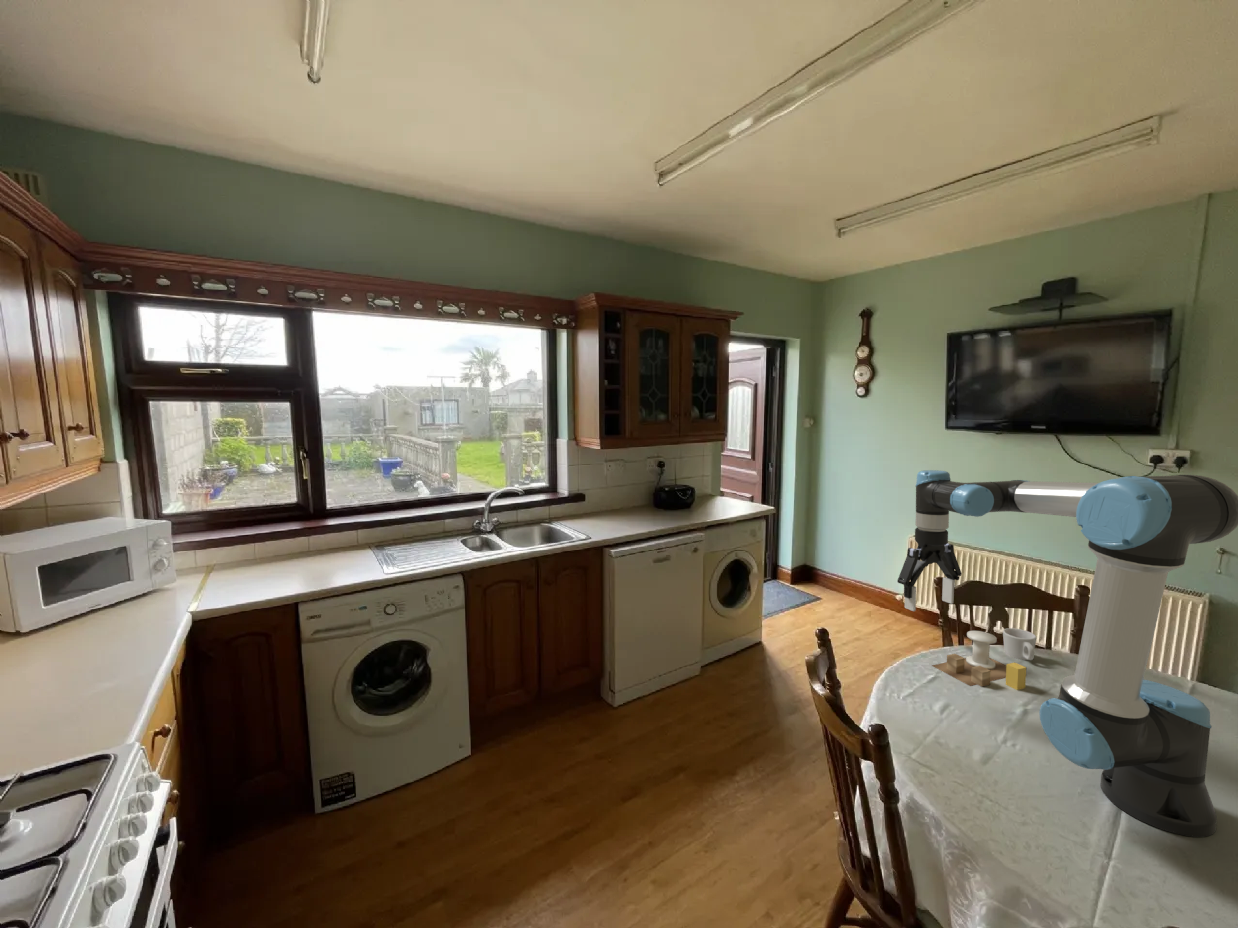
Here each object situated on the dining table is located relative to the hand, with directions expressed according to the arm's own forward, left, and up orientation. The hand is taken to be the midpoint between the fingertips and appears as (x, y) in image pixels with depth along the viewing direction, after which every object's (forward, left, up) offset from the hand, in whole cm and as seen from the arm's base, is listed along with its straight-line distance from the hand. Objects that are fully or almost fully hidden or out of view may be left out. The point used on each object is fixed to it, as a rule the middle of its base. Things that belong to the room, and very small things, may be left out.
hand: (929, 605), depth 136 cm
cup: (+2, -39, -24) cm, 46 cm away
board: (+1, -20, -24) cm, 31 cm away
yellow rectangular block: (-9, -21, -24) cm, 33 cm away
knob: (+3, -24, -22) cm, 33 cm away
